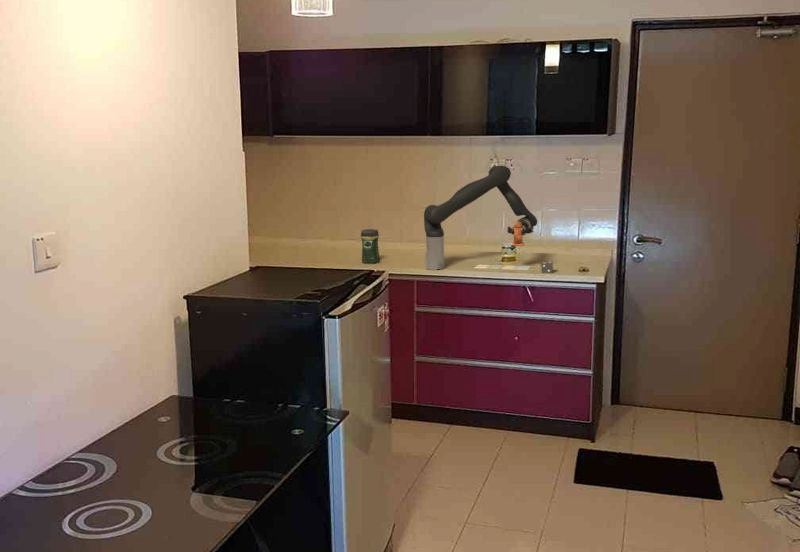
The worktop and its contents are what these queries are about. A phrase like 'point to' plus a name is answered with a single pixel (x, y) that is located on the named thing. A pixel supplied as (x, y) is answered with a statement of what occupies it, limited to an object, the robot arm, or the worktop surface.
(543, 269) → the die
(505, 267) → the board
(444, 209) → the robot arm
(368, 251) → the coffee jar
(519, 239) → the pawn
